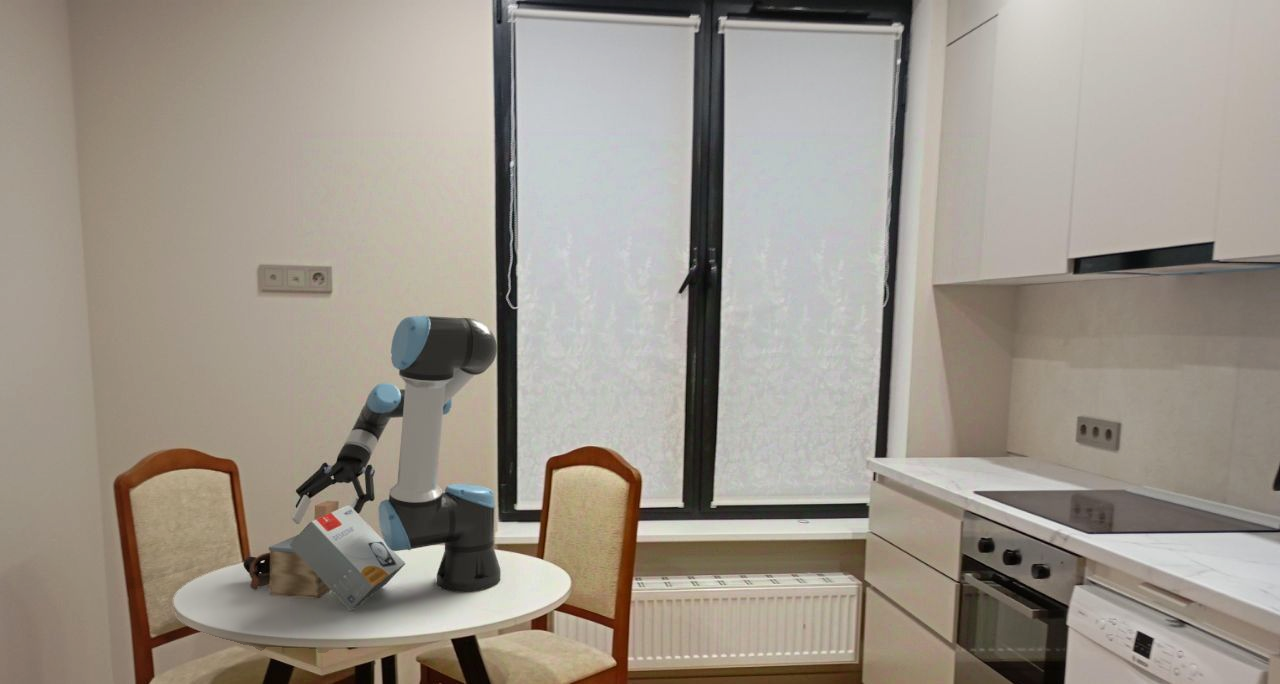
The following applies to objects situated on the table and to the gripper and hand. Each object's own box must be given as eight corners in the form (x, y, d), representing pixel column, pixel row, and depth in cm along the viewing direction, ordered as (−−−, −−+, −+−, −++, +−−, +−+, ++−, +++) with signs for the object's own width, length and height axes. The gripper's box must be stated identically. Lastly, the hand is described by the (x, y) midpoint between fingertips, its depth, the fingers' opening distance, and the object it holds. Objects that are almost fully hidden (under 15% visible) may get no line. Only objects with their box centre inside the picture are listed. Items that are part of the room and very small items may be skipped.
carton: (353, 577, 163) (353, 536, 163) (317, 598, 149) (318, 554, 149) (308, 574, 165) (309, 534, 165) (269, 595, 151) (270, 551, 151)
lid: (355, 535, 164) (356, 502, 164) (319, 553, 149) (320, 516, 149) (309, 533, 165) (309, 500, 165) (268, 550, 151) (269, 514, 151)
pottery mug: (300, 578, 163) (298, 554, 160) (273, 608, 155) (270, 584, 151) (257, 563, 165) (254, 539, 161) (228, 592, 157) (224, 568, 153)
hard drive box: (373, 587, 141) (309, 522, 142) (350, 612, 142) (286, 546, 143) (407, 562, 156) (348, 503, 158) (386, 584, 157) (328, 525, 158)
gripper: (406, 461, 176) (374, 533, 161) (319, 457, 179) (281, 527, 164) (396, 444, 171) (362, 517, 156) (307, 440, 174) (266, 511, 159)
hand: (320, 522), depth 160 cm, fingers open, 13 cm apart
